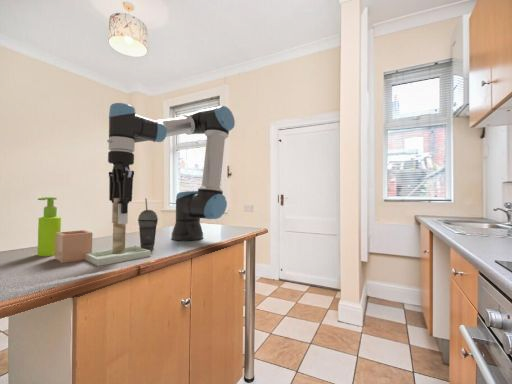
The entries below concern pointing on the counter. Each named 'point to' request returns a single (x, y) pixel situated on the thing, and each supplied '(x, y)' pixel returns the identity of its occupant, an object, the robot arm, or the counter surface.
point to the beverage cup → (147, 228)
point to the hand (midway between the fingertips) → (119, 222)
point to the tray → (116, 255)
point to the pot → (72, 245)
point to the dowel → (118, 231)
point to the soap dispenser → (48, 228)
